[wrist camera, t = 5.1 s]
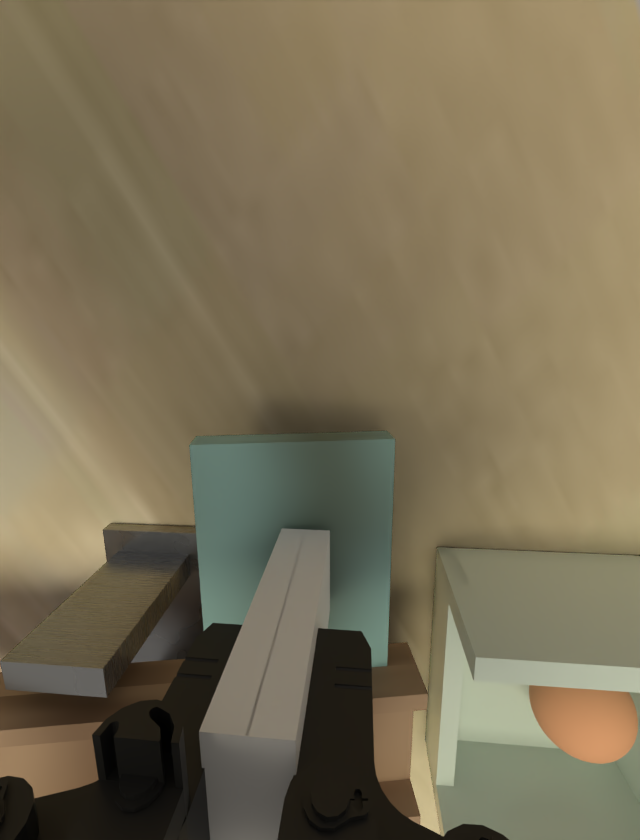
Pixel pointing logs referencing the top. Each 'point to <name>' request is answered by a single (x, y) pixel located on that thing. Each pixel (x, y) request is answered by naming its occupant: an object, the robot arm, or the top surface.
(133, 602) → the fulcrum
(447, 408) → the top surface
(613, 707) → the ball
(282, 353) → the top surface
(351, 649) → the robot arm
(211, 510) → the lever
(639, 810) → the tray
